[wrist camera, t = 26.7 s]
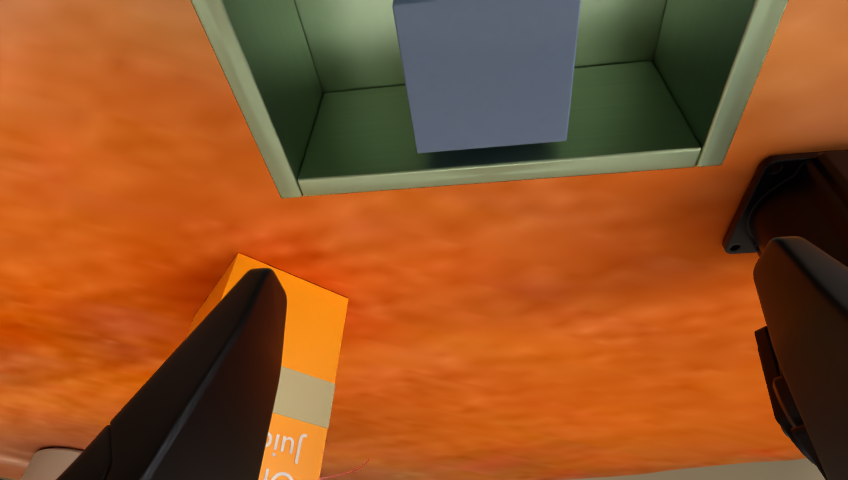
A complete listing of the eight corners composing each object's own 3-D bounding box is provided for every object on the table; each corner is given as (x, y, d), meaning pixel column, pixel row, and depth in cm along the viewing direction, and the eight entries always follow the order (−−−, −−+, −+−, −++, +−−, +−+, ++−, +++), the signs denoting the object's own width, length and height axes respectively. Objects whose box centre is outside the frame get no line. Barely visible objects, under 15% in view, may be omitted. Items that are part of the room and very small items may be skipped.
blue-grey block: (549, -88, 15) (583, -18, 12) (542, 52, 19) (567, 141, 15) (404, -68, 16) (391, 5, 12) (422, 64, 19) (417, 154, 16)
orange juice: (350, 299, 32) (283, 725, 19) (293, 352, 38) (209, 713, 24) (235, 250, 29) (55, 724, 16) (190, 316, 35) (27, 711, 21)
